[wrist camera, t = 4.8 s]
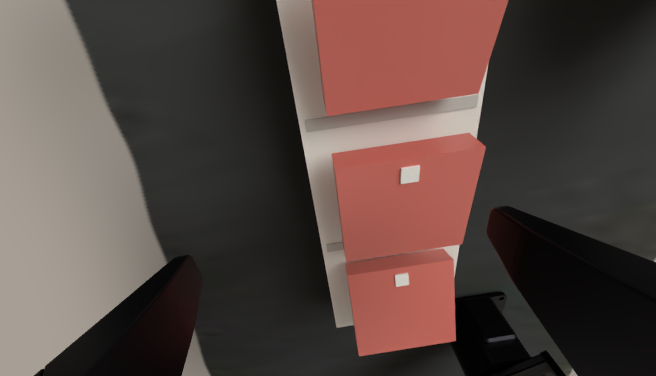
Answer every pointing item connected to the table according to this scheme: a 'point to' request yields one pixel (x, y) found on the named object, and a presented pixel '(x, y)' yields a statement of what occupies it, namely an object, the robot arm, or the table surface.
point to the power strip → (354, 138)
